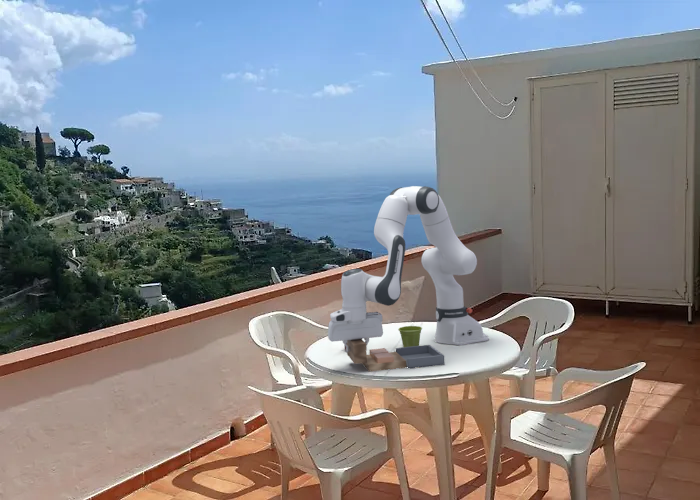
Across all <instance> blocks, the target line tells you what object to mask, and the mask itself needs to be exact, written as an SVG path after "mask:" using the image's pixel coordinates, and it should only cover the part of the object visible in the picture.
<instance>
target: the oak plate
mask: <svg viewBox="0 0 700 500" xmlns="http://www.w3.org/2000/svg"><path fill="white" fill-rule="evenodd" d="M388 352H389V351H388ZM389 353H390V354H391V355H393V356H394V362H388V363H379V364H378V363H377V362H376V361H375V360H374V359H373V358H372V357H371V356H370V354H369V353H368V354H367V363H361V365H363V367H364V368H365V369H366V370H367V371H368V373H369V372H371V373H372V372H379V371H388V369H390V370H396V368H399V369H406V368H407V367H406V360H405V359H403V358H402V357H401V356H400V355H399V354H398V353H397V352H396V351H390V352H389ZM405 367H406V368H405Z"/></svg>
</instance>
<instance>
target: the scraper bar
mask: <svg viewBox="0 0 700 500" xmlns="http://www.w3.org/2000/svg"><path fill="white" fill-rule="evenodd" d="M347 346H350V347H351V349H350V350H351V352H346V355H347V356H348V357H349V359H350V360H351V361H352V362H353V364H354V365H357V364H362V363H367V355H368V354H367V353H368V351H367V350H366V343H365V340H363V339H353V340H347Z"/></svg>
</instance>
